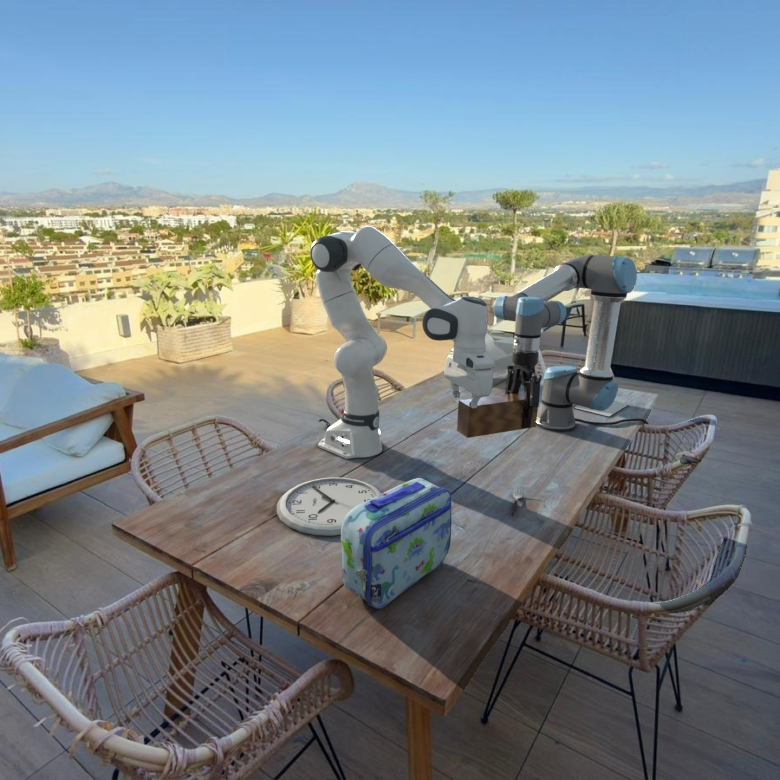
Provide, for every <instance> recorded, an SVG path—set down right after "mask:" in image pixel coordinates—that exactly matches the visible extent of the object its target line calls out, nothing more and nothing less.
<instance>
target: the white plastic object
mask: <svg viewBox="0 0 780 780" xmlns="http://www.w3.org/2000/svg"><path fill="white" fill-rule="evenodd" d="M485 344H486V346H485V351H486V352H487V353H488V355H489V356H490V357H491V358H492V359H493V360H494V362H495V366H494V368H491V370H492V372H493V375H496V376H500V375H502V374H505V373H506V372H507V371H508V370H507V366H508V365H514V363H513V362H512V355H513V351H514V350H515V349H514V348H513V345H514V336H510V337H505V338H501V339H497V340H494V339H493V338H492V337H491V335H490V334H489V333H488V332H487V333H486V335H485ZM538 352H539V357H538V362H539V364H540V367H541V370H542V373H543V375H544V374H545V371H546V369H547V366H546V364H545V363H546V362H545V360H544V358H543V355H542V351H541V348H540V349H539V350H538Z"/></svg>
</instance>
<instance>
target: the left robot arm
mask: <svg viewBox="0 0 780 780" xmlns="http://www.w3.org/2000/svg"><path fill="white" fill-rule="evenodd" d="M309 256H310V260H311V263H312V265H313V266H314V267H315V269H317V271H316V272H315V282H316V286H317V287H316V288H317V290H318V294H319V296H320V300H321V302H322V305H323V307H324V310H325V312H326V315H327V317H328V320H329V322H330V325H331V326H332V328H333V329H335V330H336V331H337V332H338V333H339V334H340V335H341V336H342V337H343V339H344V340H345V342H344V343H342V344H341V345H340V346H339V347H338V348H337V350H336V351H335V353H334V355H333V365H334V367H335V369H336V370H337V372H338V373H340V375H341V379H342V382H343V389H344V408H343V409H341V410H340V411H338V413H337V414H338V416H340V418H339V419H338V420H336V421H335V422H333V423H332V424H330V422H329V421H327V420H326V419H324V418H320V419H319V420H318V423H320V422H324V423H325V424H326V426H325V429H326V431H325V435H324V437H323V438H322V439H321V440H320V441H319V442H318V444H317V447H318V448H320V449H322V450H324V451H327V452H329V453H331V454H334V455H336V456H338V457H341V458H343V459H346V460H348V459H349V460H350V459H351V460H352V459H356V458H370V457H374V456H377V455H379V454H381V453H382V451H383V445H382V440H381V436H380V435H381V430H380V428H379V427H380V409H379V386H378V385H377V384H376V382H375V378H374V374H373V369H374V367H376V366H377V365H378V364H380V363H381V362H382V361H383V360H384V358H385V356H386V355H387V352H388V345H387V342H386V340H385V338H384V337H383V336H382V335H380V334H379V333H378V332H377V331H376V329H375V328H374V327H373V325H372V323H371V322H370V320H369V319H368V317H367V315H366V314H365V312H364V309H363V307H362V305H361V302H360V300H359V297H358V295H357V292H356V290H355V287H354V285H353V282H352V279H351V273H352V271H358V270H359V269H360V268H361V267H363V268H364V269H365V270H366V271H367V273H368V274H369V275H370V276H371V277H372V278H373V279H374V280H375V281H376V282H378V283H379V284H381V286H383V287H385V288H389V289H395V290H401V291H405V292H408V293H411V294H413V295H415V296H416V297H417V298H419V300H421V302H423V303H424V305H426V306H427V307H428V308H430V309H428V310H427V311H426V312H425V313H424V315H423V317H422V321H421V324H422V330H423V332H424V334H425V335H426V336H427V337H428V339H430V340H432V341H439V342H442V341H452V342H453V347H452V348H451V349H450V350H449V351H448V355H447V357H446V359H445V363H444V369H443V370H444V371H443V375H444V378H445V379H446V380H448V381H450V386H451V390H452V393H451V394H452V397H454V398H456V399H457V398H460V397H461V390H460V388H462V389H464V390H465V391H467V392H469V393H470V394H471V397H472V398H471V399H472V401H470V404H469V406H470V407H471V408H477V405H478V401H479V400H480V398H481V397H489V396H490V395H491V393H492V390H493V389H492V388H493V381H494V374H493V372H492V370H491V368H494V366H495V362H494V360H493V359H492V358H491V357H490V356H489V355H488V353H487V352H486V351H485V346H486V344H485V335H486V333H488V326H489V325H488V323H489V309H488V305H487V302H485V301H484V300H483V299H481V298H479V297H475V296H470V295H463V296H461V297H459V298H458V299H454V298H452V297H451V296H449V294H447V293H446V292H445V291H444V290H443V289H442V288H441V287H440V286H438V285H437V284H436V283H435V281H433V280H432V279H431V278H430V277H429V276H428V275H426V274H425V273H424V272H423V271H421V269H420V268H418V266H416V265H415V264H414V263H413V262H412V261H411V260H410V259H409V258H408V257H407V256H406V255H405V254H404V253H403V251H401V249H400V248H399V247H398V246H397V245H396V244H395V243H394V242H393V241H392V240H391V239H390V238H388V237H387V235H385V234H383V233H382V232H381V231H380V230H379V229H377V228H376V227H374V226H371V225H365V226H362V227H360V228H358V229H357V230H356V229H355V230H344V231H343V230H342V231H337V232H335V233H331V234H328V235H327V234H326V235H322V236H320V237H319V238H316V240H314V241H313V242H312V244H311V246H310V251H309ZM328 424H329V425H328Z"/></svg>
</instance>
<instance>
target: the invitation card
mask: <svg viewBox="0 0 780 780" xmlns="http://www.w3.org/2000/svg"><path fill="white" fill-rule="evenodd" d="M628 406H629V404H627V403H623V402H618V401H615V400H614V401H613V403H612V404H611V406H610V407H609V408H608V409H606V410H604V411H599V410H592V409H590V408H587V407H583V406H579V405H575V406H574V407H573V409H575V410H581V411H584V412H587V413H593V414H596V415H600V416H604V417H608V418H609V417H611V416H613V415H614V414H616V413H617V412H619V411H621V410H623V409H624V408H626V407H628Z"/></svg>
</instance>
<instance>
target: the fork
mask: <svg viewBox="0 0 780 780" xmlns="http://www.w3.org/2000/svg"><path fill="white" fill-rule="evenodd" d="M517 485H518V486H517ZM517 485H515V487H514V491H513V494H512V496H513V498H514V499H515V500H514V502H513V504H512V511H511V517H514V515H515V512H516V510H517V508H518V500H520V499H522V498H524V497H523V496H524V488H525V487H524V486H525V485H522V486H520V487H519V485H520V484H517Z"/></svg>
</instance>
